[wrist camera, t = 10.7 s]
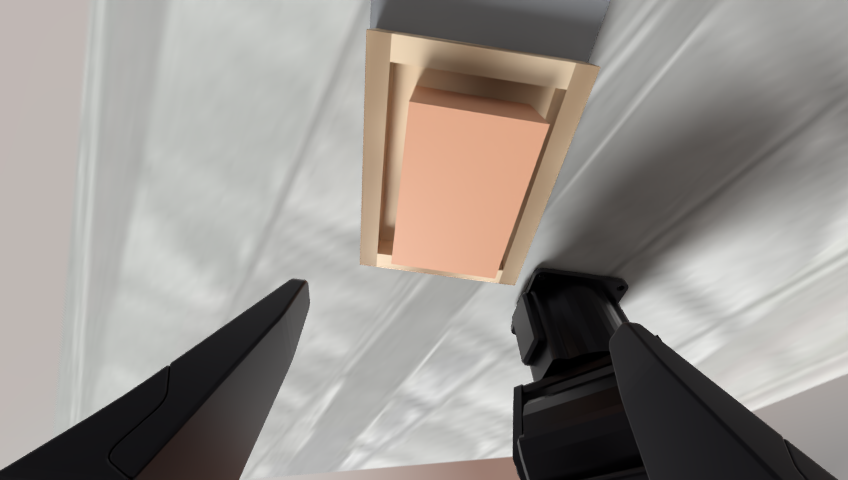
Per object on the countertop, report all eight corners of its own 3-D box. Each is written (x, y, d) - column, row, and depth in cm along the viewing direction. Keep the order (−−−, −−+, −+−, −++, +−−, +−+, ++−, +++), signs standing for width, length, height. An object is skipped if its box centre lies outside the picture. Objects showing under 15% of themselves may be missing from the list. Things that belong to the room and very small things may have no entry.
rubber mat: (781, -487, 8) (802, -518, 8) (509, 264, 23) (510, 270, 22) (394, -573, 8) (391, -612, 8) (364, 244, 22) (362, 250, 22)
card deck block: (487, 240, 20) (495, 278, 17) (398, 227, 20) (391, 263, 17) (530, 104, 16) (549, 124, 13) (415, 85, 15) (409, 101, 12)
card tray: (582, 61, 15) (600, 66, 13) (509, 263, 22) (514, 285, 20) (375, 28, 15) (366, 29, 13) (366, 244, 21) (359, 264, 20)
